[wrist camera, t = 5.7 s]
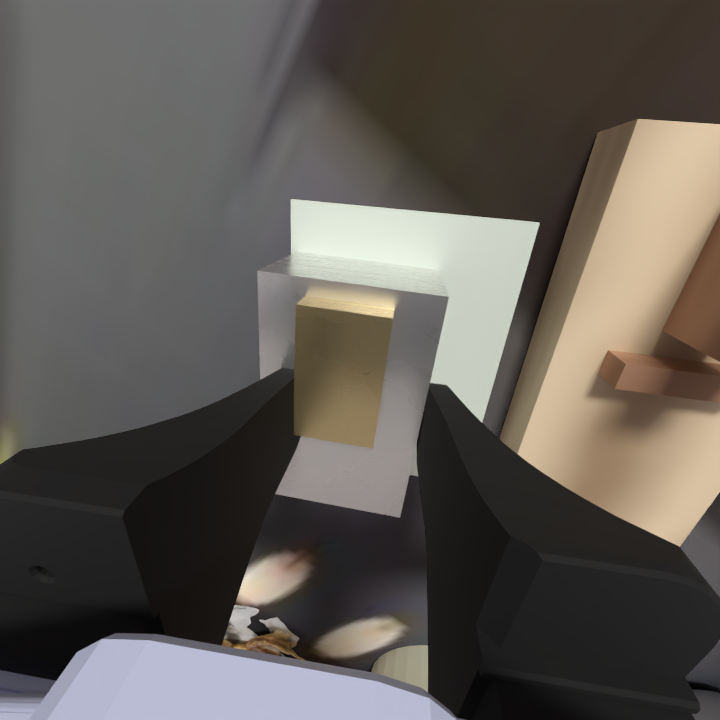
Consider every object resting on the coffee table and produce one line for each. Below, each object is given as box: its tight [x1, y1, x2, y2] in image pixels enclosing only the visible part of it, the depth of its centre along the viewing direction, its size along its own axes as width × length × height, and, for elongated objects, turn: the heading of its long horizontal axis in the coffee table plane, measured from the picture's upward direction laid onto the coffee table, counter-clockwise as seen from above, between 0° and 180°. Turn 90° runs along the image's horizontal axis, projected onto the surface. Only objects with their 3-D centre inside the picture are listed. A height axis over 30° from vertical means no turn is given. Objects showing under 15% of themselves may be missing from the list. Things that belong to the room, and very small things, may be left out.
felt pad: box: [291, 199, 540, 476], centre depth 14 cm, size 8×11×1 cm
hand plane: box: [499, 119, 720, 547], centre depth 12 cm, size 7×22×6 cm, turn 175°
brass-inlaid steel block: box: [257, 251, 449, 518], centre depth 12 cm, size 5×8×4 cm, turn 174°
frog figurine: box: [222, 605, 305, 660], centre depth 24 cm, size 12×12×4 cm
